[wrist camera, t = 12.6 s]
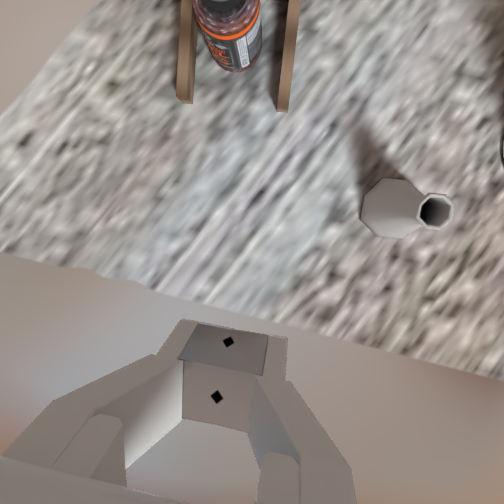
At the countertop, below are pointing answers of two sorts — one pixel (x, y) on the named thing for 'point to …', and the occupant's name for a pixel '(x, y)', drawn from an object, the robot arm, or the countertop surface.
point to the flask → (403, 209)
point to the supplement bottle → (231, 31)
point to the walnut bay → (190, 42)
